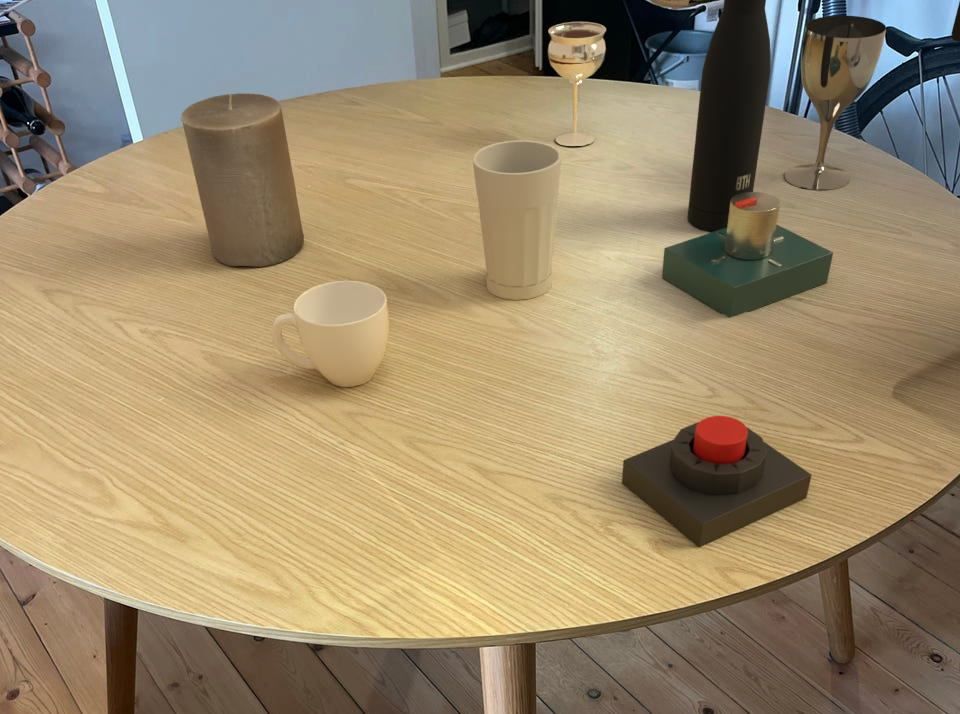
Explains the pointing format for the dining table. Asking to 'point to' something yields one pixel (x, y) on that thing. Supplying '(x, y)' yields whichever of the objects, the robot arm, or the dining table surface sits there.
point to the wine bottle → (730, 112)
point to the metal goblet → (835, 83)
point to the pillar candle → (244, 178)
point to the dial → (751, 225)
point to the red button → (720, 440)
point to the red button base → (714, 486)
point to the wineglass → (576, 61)
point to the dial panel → (745, 271)
